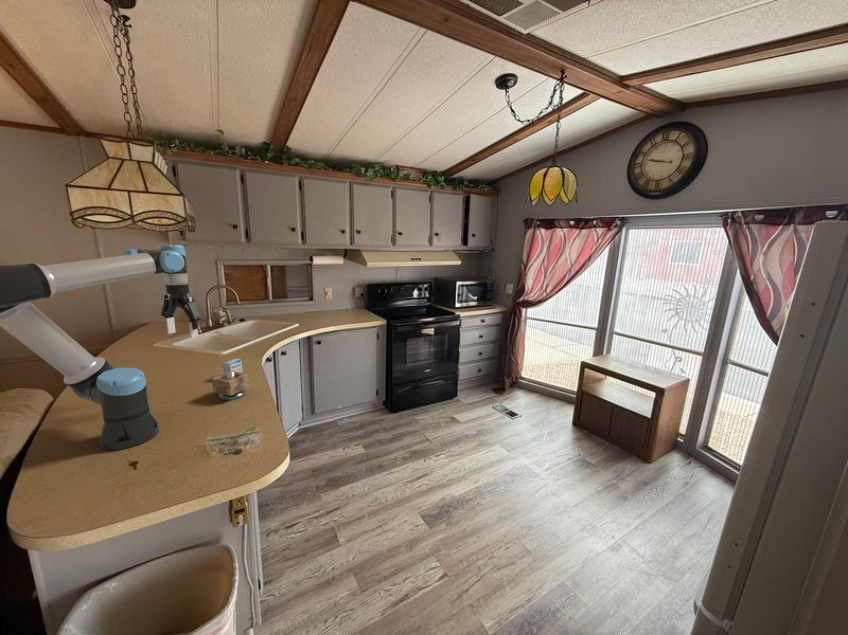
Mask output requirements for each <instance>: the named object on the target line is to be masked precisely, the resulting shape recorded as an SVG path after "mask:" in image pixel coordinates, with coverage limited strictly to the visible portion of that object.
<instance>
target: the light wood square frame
mask: <svg viewBox="0 0 848 635" xmlns="http://www.w3.org/2000/svg"><path fill="white" fill-rule="evenodd" d="M234 373H235V378H234V379H231V380H228V379H227V373H225V374H223V373H222V374H220V375H218V376H215V377H213V378H211V384H212V392H213V393H216V394H220V393H221V394H225V395H230V396H231V395H234V394H236V393H238V392H240V391H242V390H244V389H245V390H246V389H248V388H250V387H251V382H250V381H251V380H250V374H249V373H245V372H243V373H240V372H235V371H234Z"/></svg>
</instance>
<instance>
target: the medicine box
mask: <svg viewBox="0 0 848 635" xmlns="http://www.w3.org/2000/svg"><path fill="white" fill-rule="evenodd" d="M242 362H243V361H242V358H232V359H230V360H227V361H225V362H223V363H222V371H223V372H222V375H223V374H225V373H226V372H228V371H235V372H240V373H244V371H243V363H242Z"/></svg>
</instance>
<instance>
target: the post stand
mask: <svg viewBox="0 0 848 635" xmlns="http://www.w3.org/2000/svg"><path fill="white" fill-rule="evenodd" d="M226 373H227V379H228V380H231V379H234V378H235V373H234V371H228V372H226ZM245 395H246V389H244V390H242V391H240V392H238V393H236V394H234V395H231V396H230V395H225V394H221V393H218V397H219V398H218V399H220V400H221V401H227V402H229V401H235V400H240V399H241V398H243V397H245Z"/></svg>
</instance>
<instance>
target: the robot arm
mask: <svg viewBox="0 0 848 635" xmlns="http://www.w3.org/2000/svg"><path fill="white" fill-rule="evenodd" d="M187 266H188V265H187V255H186V250H185V247H184V246H183V245H181V244H161V245H160V249H144V248H140V249H138V248H134V249H133V248H130V249H125V250H124V251H123V253H122V255H119V256H111V257H110V256H109V257H104V258H103V257H100V258H94V259H93V258H92V259H86V260H79V261H71V262H70V261H69V262H62V263H56V264H55V263H54V264H47V265H40V264H38V263H37V262H31V263H23V264H1V263H0V327H1V328H2V329H3V330H5V331H6V332H7V333H8V334H10V335H11V336H12V337H14V338H15V339H16V340H18V341H19V342H20V343H22V344H23V345H24V346H26V347H27V348H28V349H30V350H31V351H32V352H33V353H35V354H36V355H37V356H39V358H41V359H42V360H43V361H45V362H46V363H48V364H49V365H50V366H52V368H54V369H56V370H57V371H58V372H59V373H61V374H62V375H63V376H64V377H63V383H64V384H65V385H67V386H68V387H70V388H71V390H72V391H73V393H74V394H75V395H76V396H77V397H78V398H81V399H83V400H86V401H89V402H92V403H94V404H97V405H98V406H100V407H101V412H102V417H103V418H102V420H103V426H102V429H101V432H100V436H99V443H100V447H101V449H103V450H106V451H107V450H109V451H119V450H124V449H130V448H132V447H136V446H138V445H141V444H144V443H146V442H149V441H150V440H152V439H153V438H154V437H156V436H157V435H158V434H159V433H160V426H159V422H158V421H157V419H156V418H155V416H154V414H152V412H151V409H150V402H149V394H148V388H147V380H146V379H147V378H146V376H145V372H144V371H143V370H141V369H139V368H136V367H117V368H115V367H114V366H113V365H112V364H111V363H109V362H108V361H107V360H106V359H105V358H104V357H100V356H99V357H97V356H95V357H94V355H92V354H91V353H90V352H89V351H88V350H86V348H84V347H83V346H81V345H80V344H79V343H78V342H77V341H76V340H75V339H74V338H72V337H71V336H70V335H69V334H68V332H67V333H66V332H65V331H64V330H63V329H62V328H61V327H60V326H58V324H56V323H55V322H54V321H53V320H52V319H50V318H49V317H48V316H47V315H46V314H44V313H43V312H42V311H41V310H40V309H39V308H38V307H36V306H35V304H33V303H32V302H33V301H38V300H43V299H49V298H52V297H53V295H54V294H55V293H59V292H60V293H61V292H66V291H71V290H76V289H81V288H86V287H92V286H96V285H97V286H98V285H103V284H108V283H112V282H113V283H114V282H120V281H125V280H130V279H131V280H132V279H135V278H136V279H137V278H141V277H146V276H152V275H158V274H162V273H163V275H164V283H165V291H166V294H164V296H163V305H162V309H161V312H160V313H161V314H160V315H161V316H160V317H164V318H165V324H166V330H167V334H168V335H171V334H176V332H177V331H176V325H175V318H174V317H175V316H174V315H175V312H176V310H177V308H180V309H181V310H183V312H184V313H185V315H186V317H187V318H188V319H189V321H188V325H189V326H188V327H189V336H190V338H191V339H192V338H196V337H199V330H198V329H199V327H198V325H199V324H198V321H201V320H202V317H201V313H200V312H199V309H198V308H197V305H196V303H195V299H194V296H188V294H189V293H190V285H189V284H188V283H189V277H188V267H187Z"/></svg>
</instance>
